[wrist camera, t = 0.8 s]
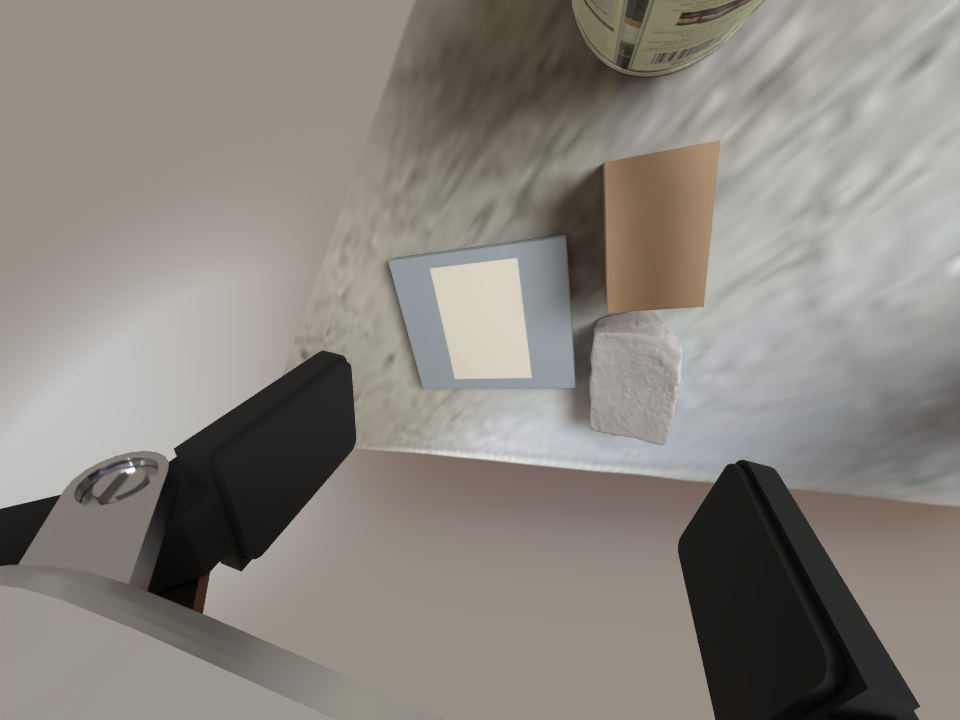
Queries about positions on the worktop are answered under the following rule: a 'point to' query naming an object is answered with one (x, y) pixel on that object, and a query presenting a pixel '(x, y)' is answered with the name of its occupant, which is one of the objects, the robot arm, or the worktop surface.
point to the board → (490, 315)
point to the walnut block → (658, 228)
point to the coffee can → (658, 31)
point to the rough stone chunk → (634, 376)
